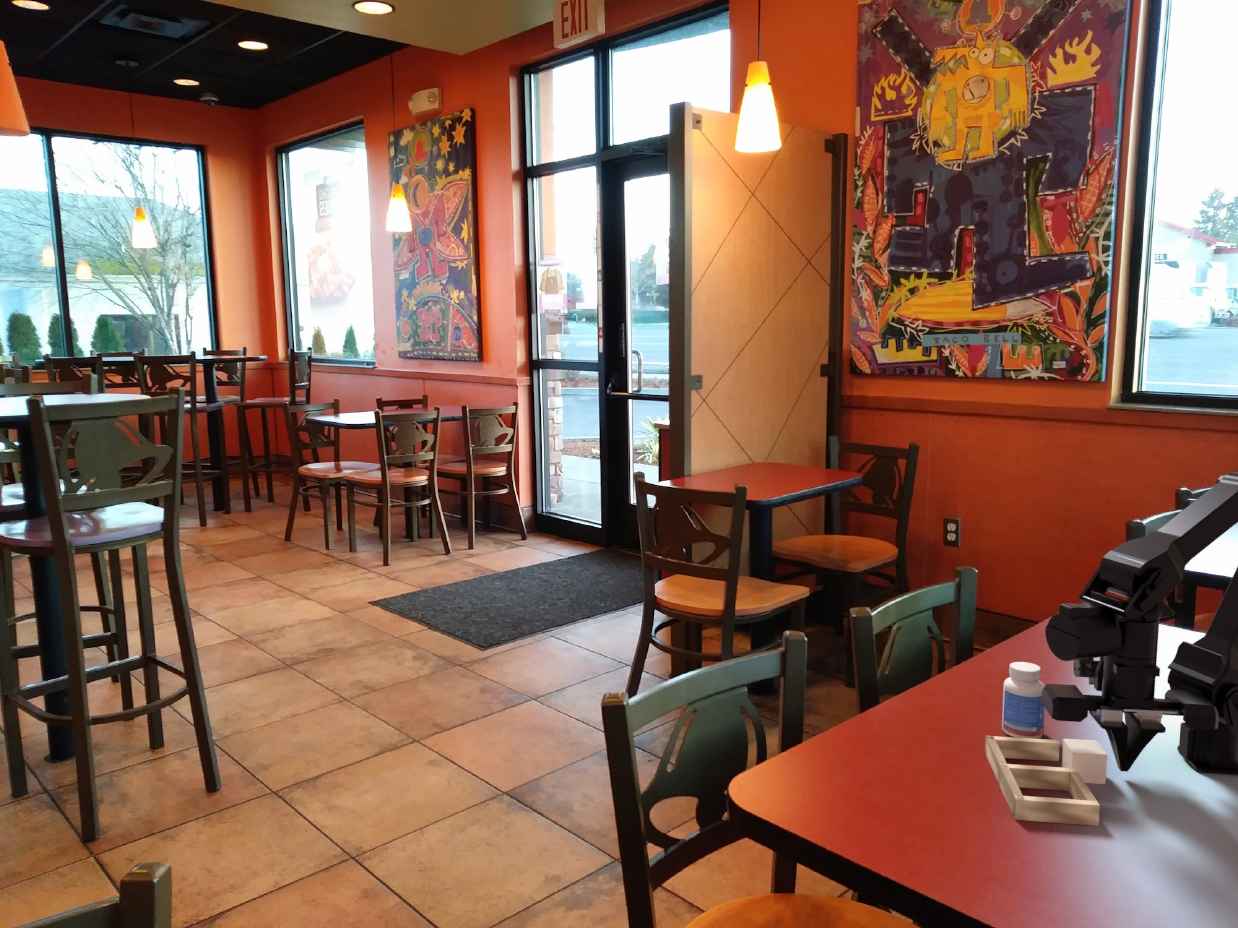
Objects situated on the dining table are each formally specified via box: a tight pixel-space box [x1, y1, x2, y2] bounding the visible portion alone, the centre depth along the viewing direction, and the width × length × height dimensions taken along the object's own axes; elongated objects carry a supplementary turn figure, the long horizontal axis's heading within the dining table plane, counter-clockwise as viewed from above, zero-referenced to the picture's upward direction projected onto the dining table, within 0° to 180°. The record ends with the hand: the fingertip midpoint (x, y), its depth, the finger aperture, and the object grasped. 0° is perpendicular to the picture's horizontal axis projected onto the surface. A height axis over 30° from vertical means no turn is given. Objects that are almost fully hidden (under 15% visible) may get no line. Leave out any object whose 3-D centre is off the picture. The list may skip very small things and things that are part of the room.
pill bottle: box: [1001, 661, 1046, 739], centre depth 126 cm, size 6×5×10 cm
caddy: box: [984, 735, 1101, 827], centre depth 111 cm, size 9×17×2 cm, turn 169°
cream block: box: [1061, 738, 1108, 785], centre depth 114 cm, size 4×4×4 cm
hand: (1122, 769), depth 113 cm, fingers closed
